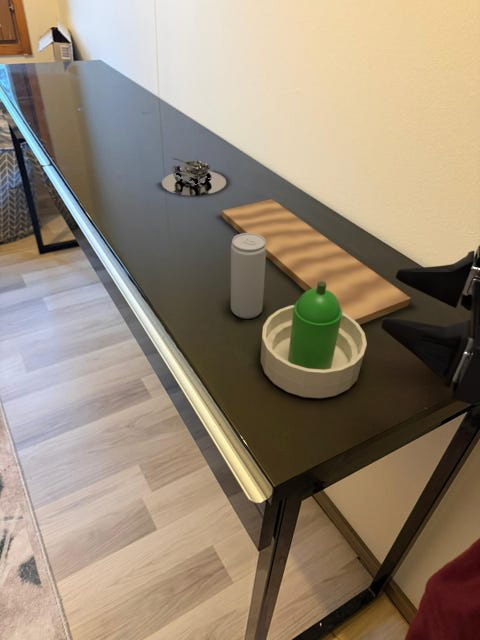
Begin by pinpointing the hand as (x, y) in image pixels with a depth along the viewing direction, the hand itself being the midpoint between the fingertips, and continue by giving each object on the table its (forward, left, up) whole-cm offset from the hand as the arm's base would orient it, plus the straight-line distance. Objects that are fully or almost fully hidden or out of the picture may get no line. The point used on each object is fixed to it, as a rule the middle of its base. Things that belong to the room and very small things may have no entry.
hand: (390, 296), depth 47 cm
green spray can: (+8, -3, -15) cm, 17 cm away
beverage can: (+20, -10, -16) cm, 27 cm away
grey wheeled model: (+50, -50, -16) cm, 72 cm away
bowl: (+8, -3, -15) cm, 17 cm away
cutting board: (+17, -29, -15) cm, 37 cm away
